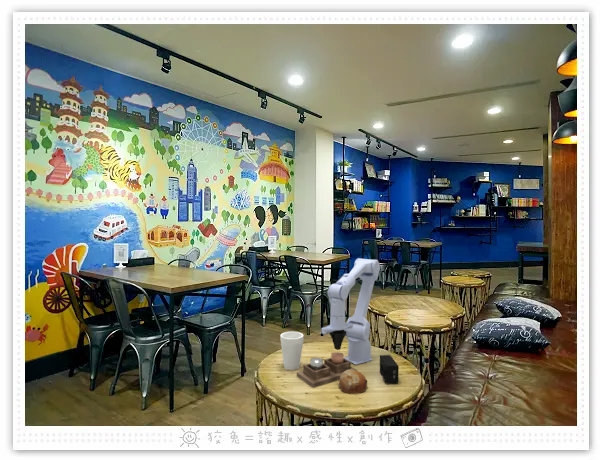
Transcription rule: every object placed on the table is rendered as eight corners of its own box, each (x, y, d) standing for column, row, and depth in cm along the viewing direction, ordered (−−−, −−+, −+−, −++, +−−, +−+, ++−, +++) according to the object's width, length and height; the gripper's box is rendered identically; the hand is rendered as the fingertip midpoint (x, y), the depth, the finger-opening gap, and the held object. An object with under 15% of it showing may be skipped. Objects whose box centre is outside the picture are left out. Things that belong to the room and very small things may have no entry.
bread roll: (342, 390, 132) (333, 371, 132) (367, 379, 132) (358, 360, 132) (344, 404, 122) (335, 383, 122) (371, 392, 122) (362, 371, 122)
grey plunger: (318, 364, 137) (318, 356, 137) (325, 368, 133) (325, 360, 133) (307, 366, 135) (307, 359, 134) (315, 371, 131) (315, 363, 130)
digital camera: (376, 372, 140) (376, 354, 139) (390, 372, 140) (390, 354, 140) (383, 384, 129) (383, 365, 129) (398, 384, 129) (398, 365, 129)
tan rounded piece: (338, 358, 143) (338, 351, 142) (346, 362, 138) (346, 355, 138) (328, 361, 140) (328, 353, 140) (336, 365, 136) (336, 357, 136)
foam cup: (300, 372, 139) (300, 339, 138) (277, 370, 141) (278, 338, 140) (305, 363, 148) (305, 332, 148) (283, 361, 150) (283, 330, 150)
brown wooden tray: (339, 364, 147) (339, 353, 147) (357, 374, 138) (357, 362, 138) (296, 376, 136) (296, 364, 135) (312, 387, 126) (312, 375, 126)
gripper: (345, 310, 146) (345, 342, 146) (316, 315, 138) (316, 349, 139) (356, 313, 140) (356, 347, 140) (327, 319, 132) (327, 355, 133)
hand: (337, 349), depth 139 cm, fingers closed
